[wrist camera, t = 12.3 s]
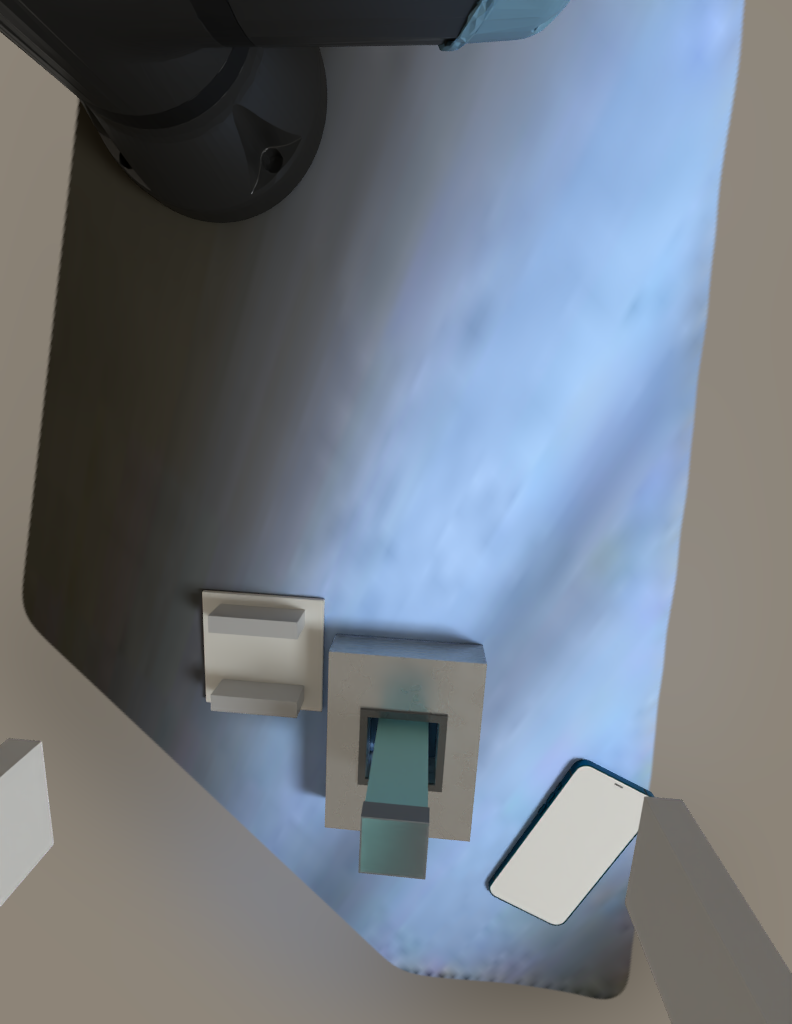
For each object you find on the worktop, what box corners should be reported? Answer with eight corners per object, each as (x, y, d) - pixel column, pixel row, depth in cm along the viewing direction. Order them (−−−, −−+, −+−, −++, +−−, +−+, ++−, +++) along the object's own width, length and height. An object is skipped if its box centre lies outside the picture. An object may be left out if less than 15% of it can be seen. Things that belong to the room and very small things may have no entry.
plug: (380, 702, 42) (360, 816, 31) (429, 706, 42) (429, 822, 31) (378, 745, 43) (358, 872, 32) (426, 750, 43) (425, 879, 31)
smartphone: (558, 919, 47) (658, 794, 43) (560, 929, 46) (663, 802, 42) (482, 882, 46) (577, 752, 43) (483, 891, 45) (580, 760, 42)
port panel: (336, 633, 41) (328, 652, 38) (482, 645, 41) (487, 665, 38) (331, 799, 45) (324, 829, 42) (467, 812, 44) (469, 843, 41)
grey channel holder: (204, 590, 41) (188, 603, 39) (324, 598, 41) (317, 613, 38) (208, 698, 44) (193, 718, 41) (322, 708, 43) (315, 729, 40)
